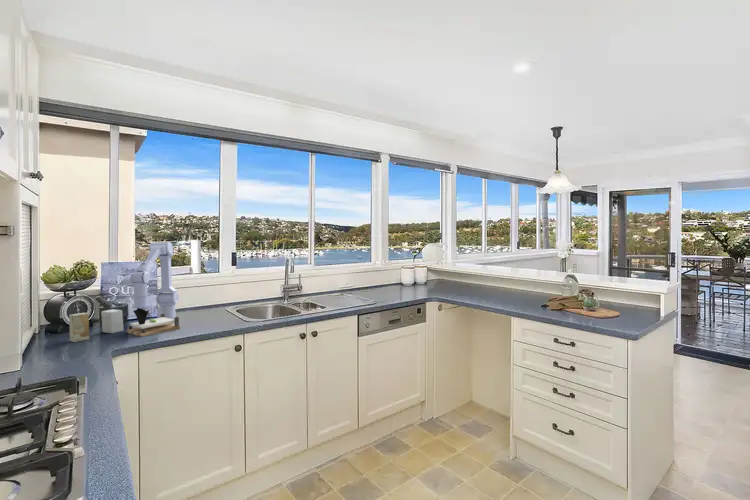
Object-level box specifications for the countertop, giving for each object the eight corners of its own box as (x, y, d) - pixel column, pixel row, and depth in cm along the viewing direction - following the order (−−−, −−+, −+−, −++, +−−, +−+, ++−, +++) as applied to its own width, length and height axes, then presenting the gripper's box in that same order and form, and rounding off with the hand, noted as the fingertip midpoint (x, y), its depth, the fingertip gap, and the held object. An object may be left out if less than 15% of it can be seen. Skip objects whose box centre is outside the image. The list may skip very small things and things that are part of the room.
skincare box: (73, 342, 170) (72, 315, 169) (69, 341, 172) (68, 314, 172) (90, 339, 175) (88, 312, 175) (86, 337, 178) (84, 312, 177)
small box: (123, 330, 190) (122, 310, 189) (112, 333, 185) (110, 312, 184) (113, 329, 193) (112, 309, 193) (102, 332, 188) (101, 311, 188)
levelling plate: (130, 325, 186) (129, 321, 186) (164, 318, 200) (164, 314, 200) (141, 329, 179) (141, 324, 179) (176, 321, 192) (176, 317, 192)
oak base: (126, 332, 187) (126, 320, 186) (164, 324, 201) (163, 313, 201) (141, 336, 177) (140, 324, 177) (179, 328, 192) (179, 316, 192)
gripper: (125, 296, 185) (126, 323, 186) (138, 298, 177) (139, 327, 177) (140, 294, 191) (141, 321, 192) (154, 296, 183) (155, 324, 183)
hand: (141, 324), depth 185 cm, fingers closed, pressing on levelling plate
